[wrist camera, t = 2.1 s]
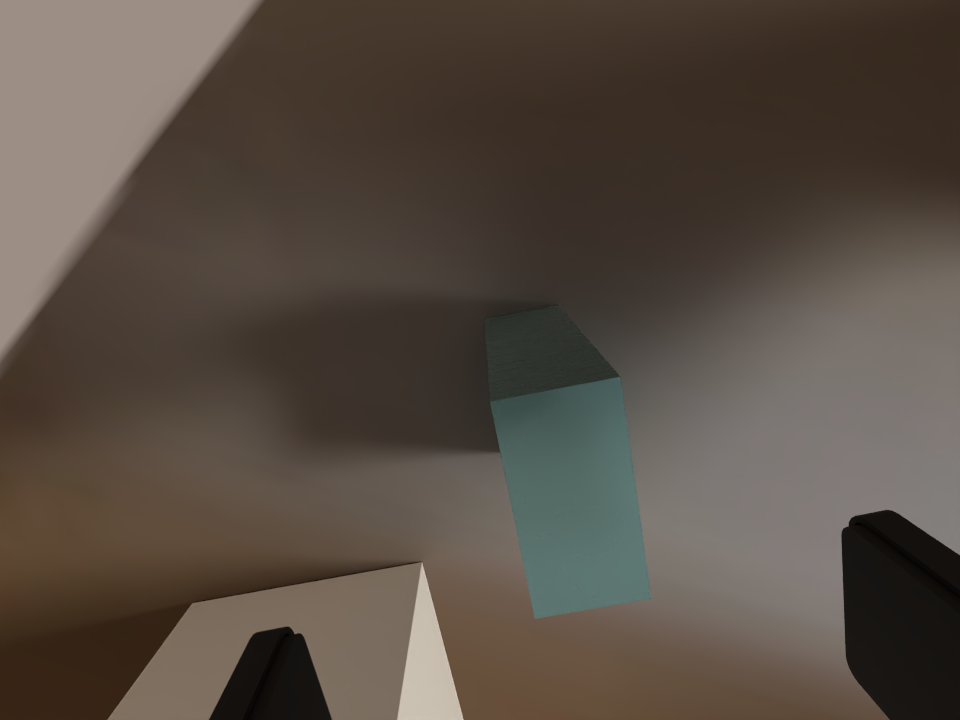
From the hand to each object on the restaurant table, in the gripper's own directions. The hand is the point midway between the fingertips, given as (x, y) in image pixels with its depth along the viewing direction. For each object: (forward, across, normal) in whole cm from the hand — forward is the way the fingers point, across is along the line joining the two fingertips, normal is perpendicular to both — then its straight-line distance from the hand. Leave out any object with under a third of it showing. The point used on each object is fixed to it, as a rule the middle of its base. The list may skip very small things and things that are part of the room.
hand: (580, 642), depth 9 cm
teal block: (+14, -1, 0) cm, 14 cm away
